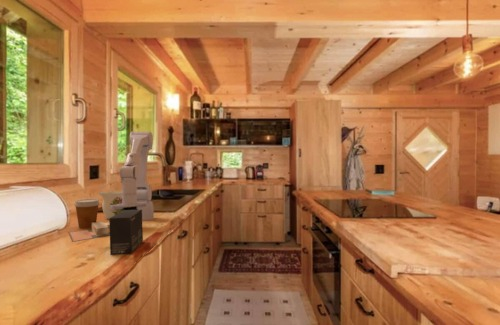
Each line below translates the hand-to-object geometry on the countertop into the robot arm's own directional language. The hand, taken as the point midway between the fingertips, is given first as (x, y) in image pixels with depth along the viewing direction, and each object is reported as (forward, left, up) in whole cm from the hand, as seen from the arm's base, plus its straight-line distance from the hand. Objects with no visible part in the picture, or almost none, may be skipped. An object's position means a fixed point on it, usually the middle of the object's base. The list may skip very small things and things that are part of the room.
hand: (129, 224), depth 115 cm
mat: (+11, 0, -2) cm, 11 cm away
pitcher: (-1, -27, -2) cm, 27 cm away
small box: (+7, +25, -2) cm, 26 cm away
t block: (+8, 0, -1) cm, 8 cm away
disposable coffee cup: (+14, -14, -2) cm, 20 cm away
